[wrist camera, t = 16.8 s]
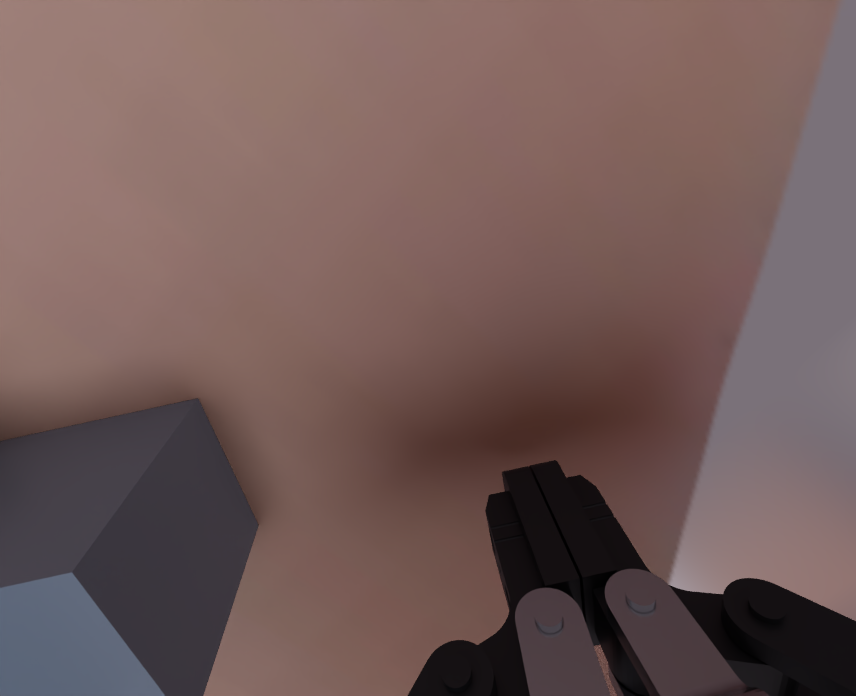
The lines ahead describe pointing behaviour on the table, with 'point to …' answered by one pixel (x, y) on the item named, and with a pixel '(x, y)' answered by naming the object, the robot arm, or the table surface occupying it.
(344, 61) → the table surface
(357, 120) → the table surface
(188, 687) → the pale blue brick
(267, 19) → the table surface
